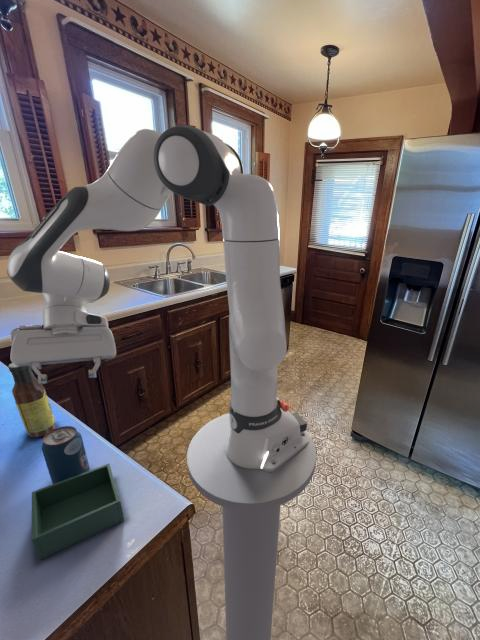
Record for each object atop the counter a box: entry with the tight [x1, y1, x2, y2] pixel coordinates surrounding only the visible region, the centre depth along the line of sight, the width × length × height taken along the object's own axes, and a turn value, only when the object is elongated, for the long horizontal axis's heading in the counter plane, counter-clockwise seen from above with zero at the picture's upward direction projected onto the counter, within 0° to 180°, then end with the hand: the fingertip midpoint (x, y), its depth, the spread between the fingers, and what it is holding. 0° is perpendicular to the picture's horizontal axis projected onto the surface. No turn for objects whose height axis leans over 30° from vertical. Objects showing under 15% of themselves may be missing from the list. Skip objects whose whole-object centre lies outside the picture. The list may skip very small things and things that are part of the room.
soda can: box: [41, 425, 91, 484], centre depth 66 cm, size 7×7×12 cm
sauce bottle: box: [7, 362, 57, 438], centre depth 77 cm, size 7×6×20 cm
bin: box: [31, 463, 125, 561], centre depth 59 cm, size 13×11×5 cm
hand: (68, 380), depth 71 cm, fingers open, 8 cm apart
